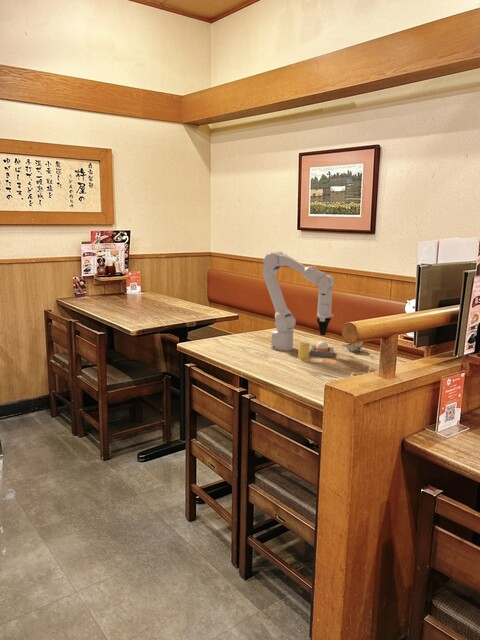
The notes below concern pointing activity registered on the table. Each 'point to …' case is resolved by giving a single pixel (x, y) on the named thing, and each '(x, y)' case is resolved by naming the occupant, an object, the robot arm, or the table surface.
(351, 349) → the grey rock
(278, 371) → the table surface
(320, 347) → the dome
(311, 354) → the grey square tray
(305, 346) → the yellow upright block
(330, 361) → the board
